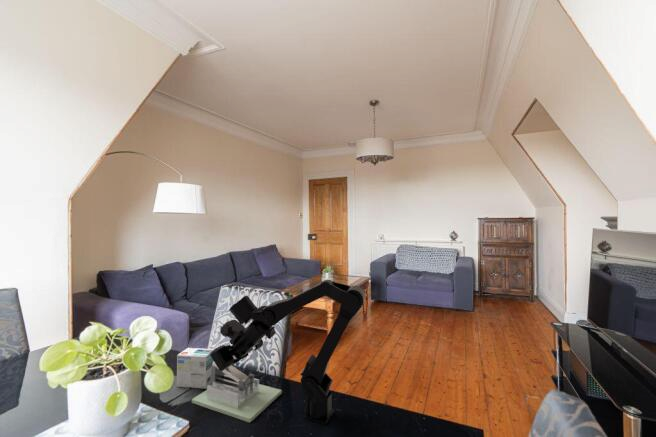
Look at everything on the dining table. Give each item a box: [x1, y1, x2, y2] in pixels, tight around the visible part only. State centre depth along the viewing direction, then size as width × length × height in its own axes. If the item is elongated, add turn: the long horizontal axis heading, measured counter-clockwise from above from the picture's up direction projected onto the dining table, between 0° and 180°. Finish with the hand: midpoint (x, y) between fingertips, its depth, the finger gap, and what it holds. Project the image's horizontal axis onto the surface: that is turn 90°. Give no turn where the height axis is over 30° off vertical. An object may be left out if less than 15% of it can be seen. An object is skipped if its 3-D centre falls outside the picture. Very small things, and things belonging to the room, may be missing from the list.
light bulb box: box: [176, 347, 215, 390], centre depth 102 cm, size 11×7×11 cm, turn 84°
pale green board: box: [191, 383, 283, 423], centre depth 94 cm, size 22×16×1 cm
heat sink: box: [206, 366, 260, 409], centre depth 94 cm, size 13×10×8 cm
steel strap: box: [212, 361, 252, 387], centre depth 94 cm, size 14×3×2 cm, turn 66°
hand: (224, 364), depth 95 cm, fingers closed, pressing on steel strap
